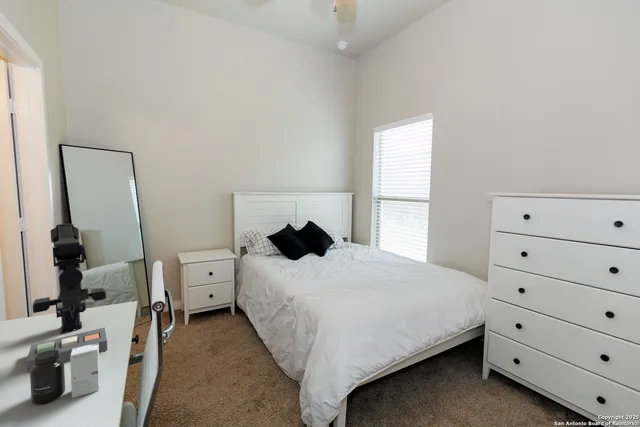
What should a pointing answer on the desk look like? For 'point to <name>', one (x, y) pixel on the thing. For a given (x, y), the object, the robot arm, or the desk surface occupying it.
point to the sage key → (45, 347)
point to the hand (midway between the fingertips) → (73, 323)
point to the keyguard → (66, 351)
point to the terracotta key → (91, 337)
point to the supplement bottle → (47, 378)
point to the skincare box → (85, 370)
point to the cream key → (69, 341)
